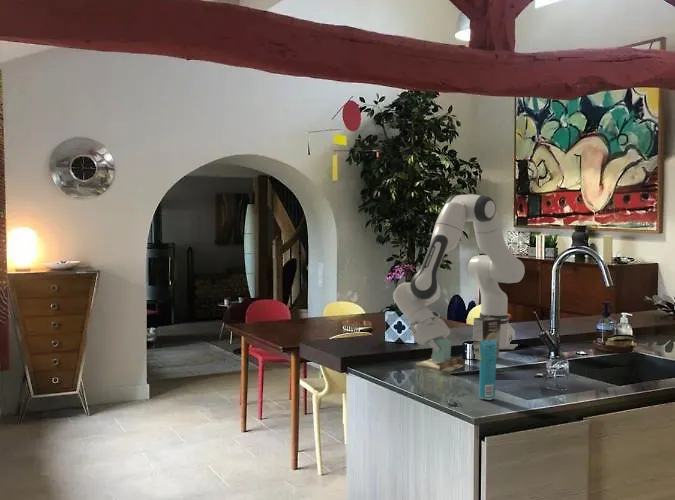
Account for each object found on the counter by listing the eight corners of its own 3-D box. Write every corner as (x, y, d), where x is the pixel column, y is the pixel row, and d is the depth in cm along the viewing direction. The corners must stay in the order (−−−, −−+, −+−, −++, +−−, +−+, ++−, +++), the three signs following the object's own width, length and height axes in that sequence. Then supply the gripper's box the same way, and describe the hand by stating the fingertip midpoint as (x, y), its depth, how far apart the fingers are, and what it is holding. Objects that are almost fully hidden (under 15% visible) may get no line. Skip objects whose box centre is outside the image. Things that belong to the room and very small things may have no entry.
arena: (434, 359, 281) (434, 353, 281) (466, 365, 273) (466, 359, 273) (415, 365, 270) (415, 359, 270) (448, 372, 262) (448, 365, 262)
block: (438, 358, 275) (439, 338, 274) (450, 360, 272) (451, 340, 271) (432, 360, 271) (432, 340, 270) (443, 363, 268) (444, 342, 267)
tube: (487, 395, 233) (490, 337, 231) (499, 398, 229) (502, 339, 227) (472, 399, 228) (475, 339, 226) (484, 402, 224) (487, 342, 223)
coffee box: (482, 361, 280) (484, 320, 279) (471, 357, 285) (472, 318, 284) (499, 358, 285) (501, 318, 284) (487, 355, 291) (489, 316, 289)
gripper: (412, 318, 266) (434, 348, 261) (440, 312, 282) (461, 340, 277) (402, 328, 269) (423, 358, 264) (430, 321, 285) (450, 349, 280)
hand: (443, 349), depth 271 cm, fingers closed on block, 5 cm apart
